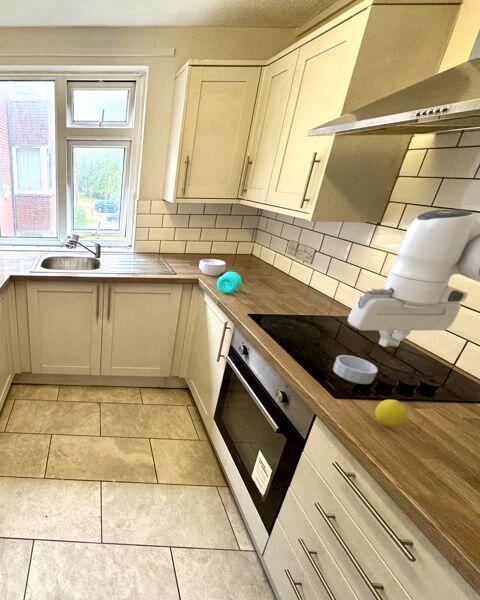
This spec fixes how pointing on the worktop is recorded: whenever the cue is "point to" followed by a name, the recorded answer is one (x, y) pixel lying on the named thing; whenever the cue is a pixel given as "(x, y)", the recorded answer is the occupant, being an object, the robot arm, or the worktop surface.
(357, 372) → the pale grey round dish
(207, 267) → the paper bowls
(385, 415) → the lemon
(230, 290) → the turquoise rounded cylinder
